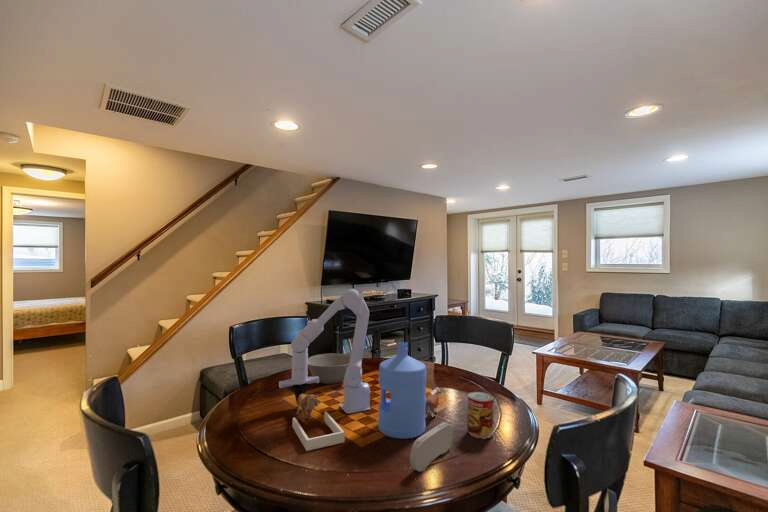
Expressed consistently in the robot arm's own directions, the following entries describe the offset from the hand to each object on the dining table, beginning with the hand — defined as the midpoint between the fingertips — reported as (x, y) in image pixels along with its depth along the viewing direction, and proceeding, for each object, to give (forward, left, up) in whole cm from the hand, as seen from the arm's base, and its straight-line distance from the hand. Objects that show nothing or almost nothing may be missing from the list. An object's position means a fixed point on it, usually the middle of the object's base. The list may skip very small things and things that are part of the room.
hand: (299, 404), depth 133 cm
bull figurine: (-42, +26, -2) cm, 49 cm away
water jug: (-26, +31, -2) cm, 40 cm away
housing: (0, +22, -1) cm, 22 cm away
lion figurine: (0, +8, -2) cm, 8 cm away
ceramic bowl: (-21, -24, -2) cm, 32 cm away
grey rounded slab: (-24, +51, -2) cm, 56 cm away
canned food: (-47, +45, -2) cm, 65 cm away
